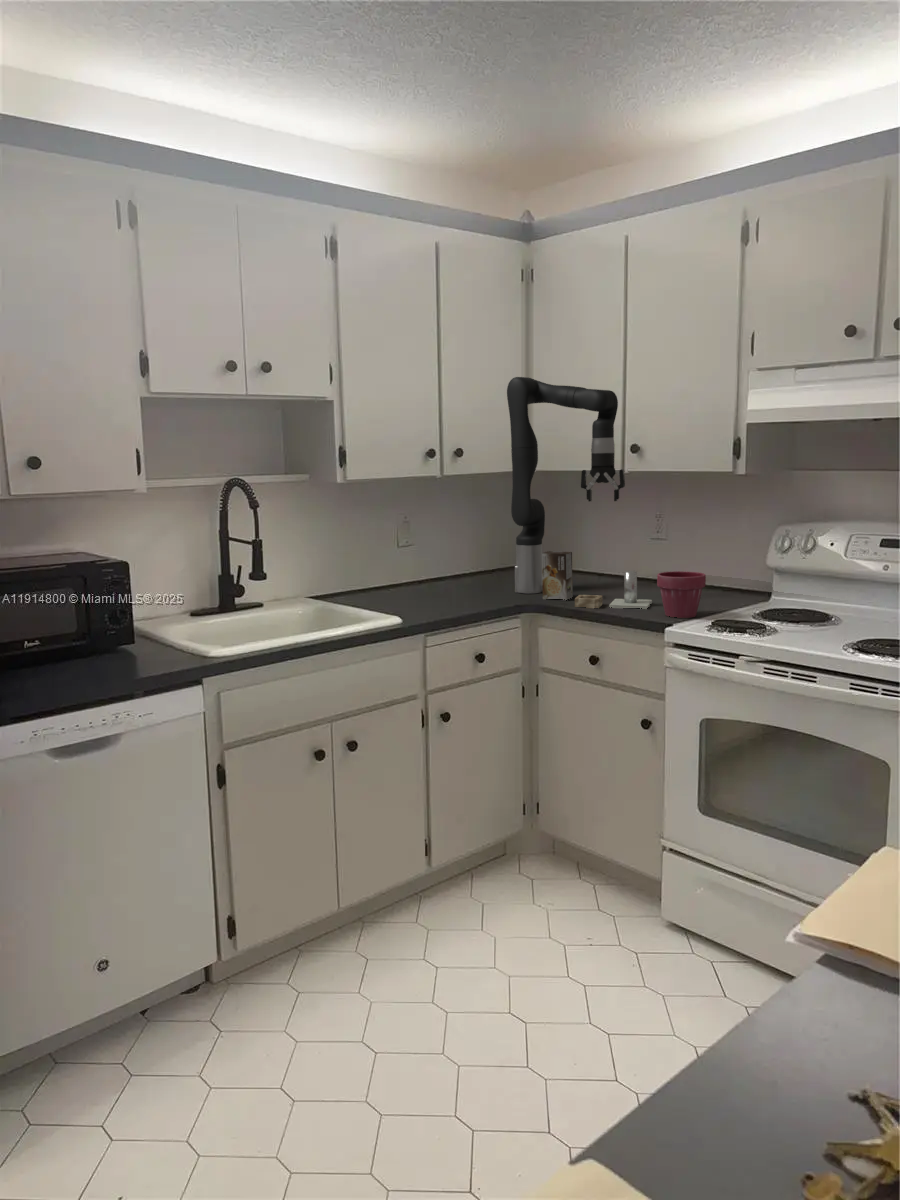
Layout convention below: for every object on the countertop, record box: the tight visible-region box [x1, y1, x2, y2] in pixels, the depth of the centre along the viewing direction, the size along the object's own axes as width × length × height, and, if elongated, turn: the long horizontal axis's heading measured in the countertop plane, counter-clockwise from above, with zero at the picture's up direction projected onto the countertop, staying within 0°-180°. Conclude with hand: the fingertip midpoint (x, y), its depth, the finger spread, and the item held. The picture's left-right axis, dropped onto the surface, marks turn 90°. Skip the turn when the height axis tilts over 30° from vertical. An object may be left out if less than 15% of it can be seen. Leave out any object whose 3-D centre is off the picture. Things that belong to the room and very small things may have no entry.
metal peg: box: [623, 570, 638, 603], centre depth 287 cm, size 4×4×10 cm
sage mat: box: [608, 598, 653, 610], centre depth 288 cm, size 12×12×1 cm
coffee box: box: [542, 550, 574, 601], centre depth 303 cm, size 9×6×16 cm
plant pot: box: [656, 570, 707, 619], centre depth 268 cm, size 14×14×13 cm
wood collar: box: [574, 594, 603, 609], centre depth 289 cm, size 8×8×3 cm
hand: (602, 501), depth 295 cm, fingers open, 8 cm apart
